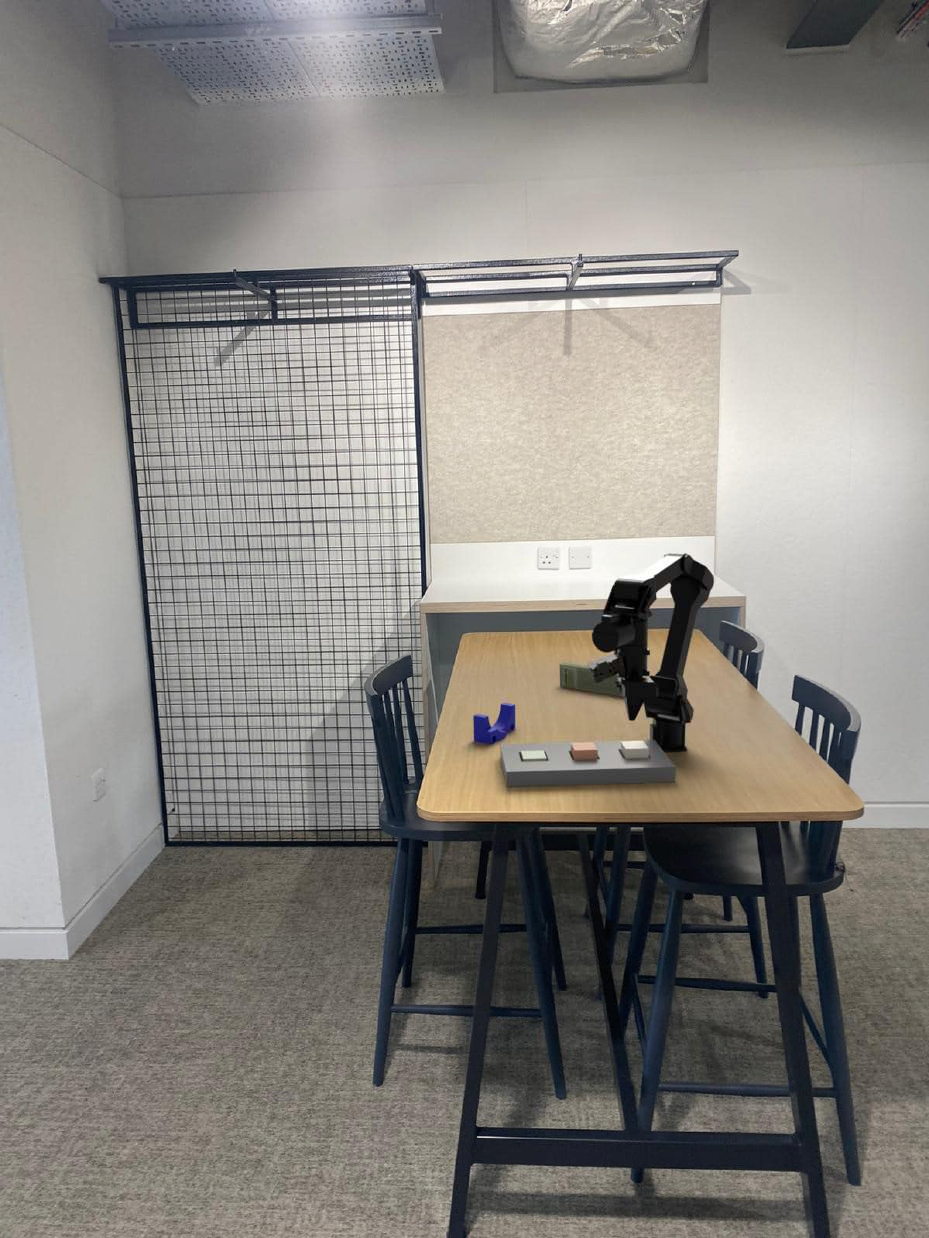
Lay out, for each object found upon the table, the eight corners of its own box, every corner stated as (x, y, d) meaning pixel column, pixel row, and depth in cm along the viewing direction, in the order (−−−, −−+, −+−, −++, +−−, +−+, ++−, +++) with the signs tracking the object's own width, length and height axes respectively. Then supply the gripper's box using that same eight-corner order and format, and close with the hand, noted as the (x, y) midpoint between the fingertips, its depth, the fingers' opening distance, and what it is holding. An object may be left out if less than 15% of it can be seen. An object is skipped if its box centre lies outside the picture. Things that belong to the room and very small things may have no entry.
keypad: (654, 753, 179) (654, 739, 178) (675, 781, 163) (675, 766, 163) (500, 757, 178) (500, 744, 178) (506, 786, 162) (506, 771, 162)
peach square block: (593, 751, 173) (593, 742, 172) (597, 759, 168) (597, 749, 168) (571, 752, 172) (571, 742, 172) (574, 760, 168) (574, 750, 168)
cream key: (643, 750, 173) (643, 740, 172) (648, 758, 168) (648, 748, 168) (620, 751, 173) (620, 741, 172) (625, 758, 168) (625, 748, 168)
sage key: (543, 759, 172) (543, 750, 172) (546, 767, 168) (546, 758, 168) (521, 760, 172) (521, 751, 172) (523, 768, 168) (523, 758, 168)
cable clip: (490, 745, 187) (490, 718, 186) (473, 741, 189) (473, 715, 188) (520, 730, 196) (520, 705, 195) (504, 727, 199) (504, 702, 198)
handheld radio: (564, 684, 235) (649, 698, 221) (558, 688, 233) (644, 701, 218) (564, 661, 234) (649, 672, 219) (557, 664, 231) (644, 676, 217)
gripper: (583, 633, 175) (583, 707, 178) (598, 655, 157) (598, 736, 160) (638, 632, 176) (637, 705, 179) (659, 653, 157) (658, 735, 160)
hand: (631, 720), depth 169 cm, fingers closed
